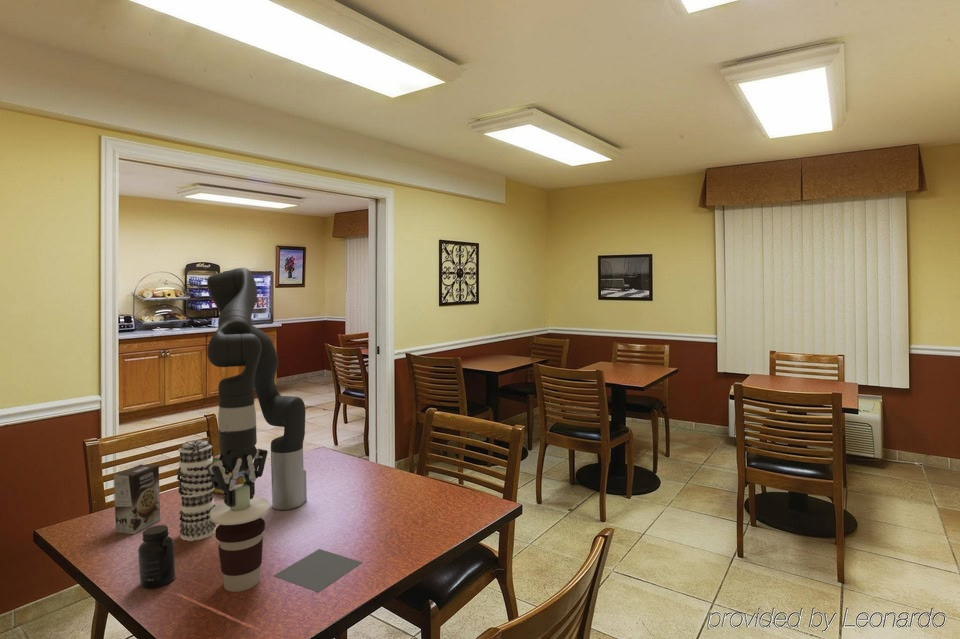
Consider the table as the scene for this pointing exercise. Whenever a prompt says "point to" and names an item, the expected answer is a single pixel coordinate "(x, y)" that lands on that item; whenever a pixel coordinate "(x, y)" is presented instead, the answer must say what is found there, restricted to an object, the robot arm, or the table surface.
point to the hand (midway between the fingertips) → (239, 501)
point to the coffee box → (137, 498)
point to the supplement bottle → (156, 558)
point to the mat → (318, 570)
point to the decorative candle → (195, 490)
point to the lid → (240, 508)
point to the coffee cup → (240, 554)
